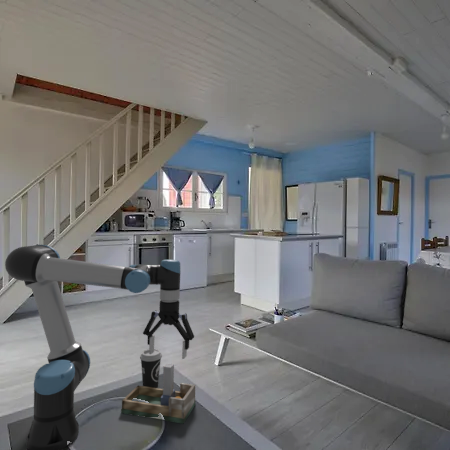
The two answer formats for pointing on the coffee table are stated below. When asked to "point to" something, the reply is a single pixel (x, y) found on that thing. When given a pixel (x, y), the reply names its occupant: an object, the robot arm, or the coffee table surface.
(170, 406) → the wooden tray
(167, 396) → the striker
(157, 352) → the coffee cup
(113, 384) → the coffee table surface
